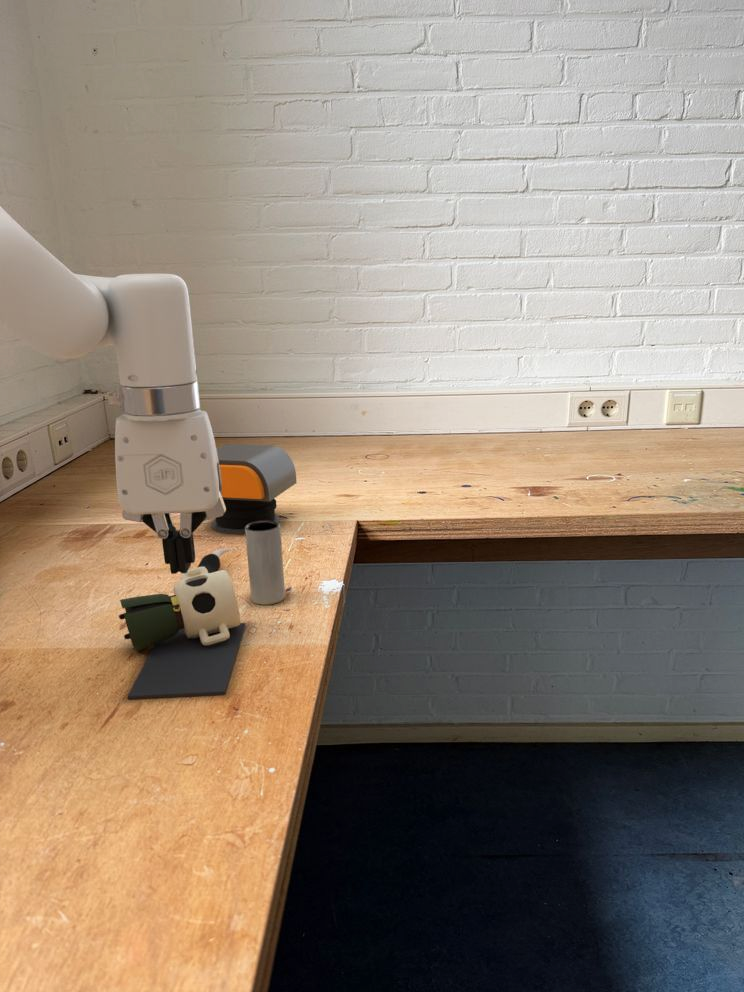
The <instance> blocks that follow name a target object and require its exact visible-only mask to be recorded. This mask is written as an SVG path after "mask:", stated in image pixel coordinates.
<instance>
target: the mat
mask: <svg viewBox="0 0 744 992" xmlns="http://www.w3.org/2000/svg"><path fill="white" fill-rule="evenodd" d="M246 626H247V625H246V622H240V625H238V626H236V627H232V628H229V629H228V631H229V634H230V635H229V638H228V639H227V640H225V641H222V642H218V643H215V644H211V645H203V644H202V642H201V640H200V637H197V638H188V637H187V636H186V634H185V632H184V629H180V630H179V631H178V633H177V634H175V635H174V636H173V637H171V638H168V639H166V640H164V641H161V642H159V643H157V644H154V645H152V648H151V650H150V652H149V653H148V656H147V657H146V659H145V662H144V663H143V666H142V667H141V669H140V671H139V673H138V675H137V677H136V679H135V681H134V682H133V684H132V687H131V688H130V690H129V692H128V694H127V695H126V697H127V700H141V699H162V698H164V699H165V698H181V697H202V696H219V695H222V696H223V695H226V693H227V690H228V687H229V683H230V680H231V676H232V673H233V670H234V666H235V662H236V660H237V655H238V652H239V650H240V646H241V643H242V639H243V635H244V633H245V629H246ZM217 634H220V631H218V632H215V633H211V634H208V636H209V637H210V636H213V635H217Z"/></svg>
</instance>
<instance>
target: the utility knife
mask: <svg viewBox="0 0 744 992" xmlns="http://www.w3.org/2000/svg"><path fill="white" fill-rule="evenodd" d="M234 550H235V548H221V549H217V550H215V551H212V552H211V553H209V554H206V555H204V556H203V557H202V558H201V560H200V562H199V564H198V565H197V567H205V568H206V569H207V571H208V573H213V572H216V571H220V570H219V569H220V567H221V560H220V558H221V556H222V555H224V554H226V553H227V552H230V551H234Z"/></svg>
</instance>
